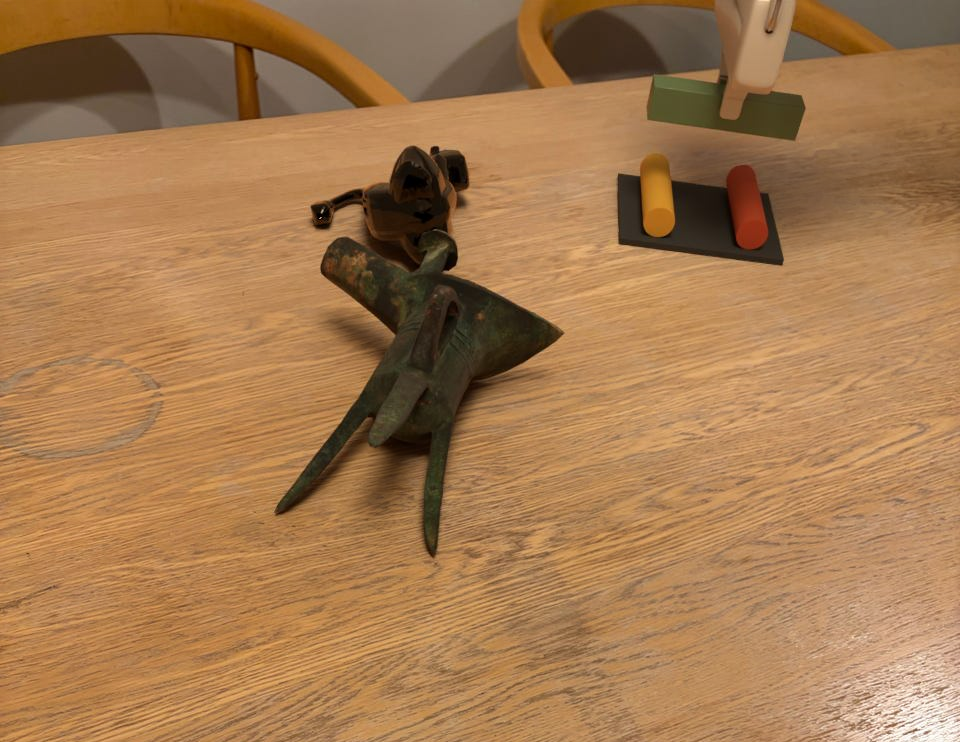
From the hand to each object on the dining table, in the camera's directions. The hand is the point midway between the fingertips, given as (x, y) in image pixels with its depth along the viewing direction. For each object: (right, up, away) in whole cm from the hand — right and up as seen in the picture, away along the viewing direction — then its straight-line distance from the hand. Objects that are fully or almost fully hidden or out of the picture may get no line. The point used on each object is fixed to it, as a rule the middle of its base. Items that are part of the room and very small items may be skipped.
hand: (725, 106), depth 95 cm
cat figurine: (-32, -10, +2) cm, 33 cm away
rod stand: (-1, -7, +8) cm, 11 cm away
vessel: (-29, -34, -19) cm, 48 cm away
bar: (0, -1, +1) cm, 2 cm away
